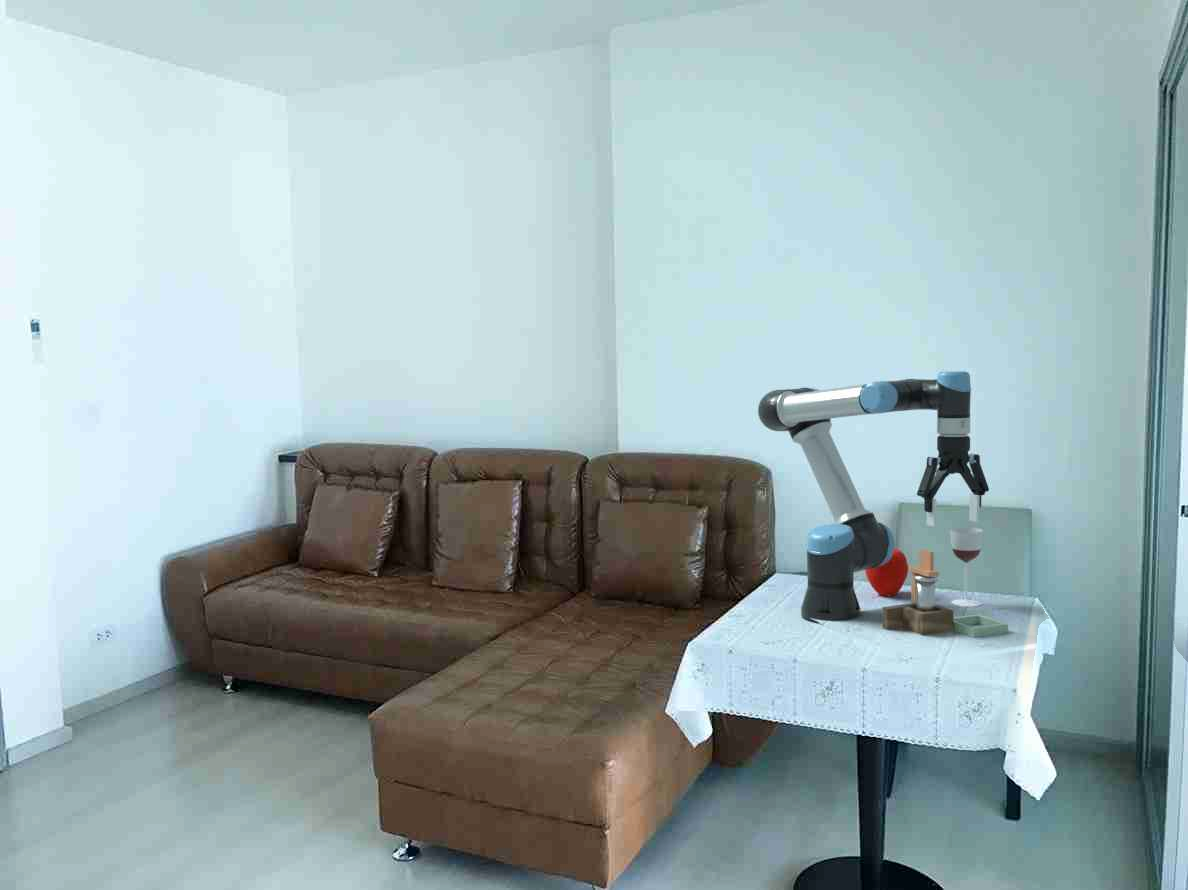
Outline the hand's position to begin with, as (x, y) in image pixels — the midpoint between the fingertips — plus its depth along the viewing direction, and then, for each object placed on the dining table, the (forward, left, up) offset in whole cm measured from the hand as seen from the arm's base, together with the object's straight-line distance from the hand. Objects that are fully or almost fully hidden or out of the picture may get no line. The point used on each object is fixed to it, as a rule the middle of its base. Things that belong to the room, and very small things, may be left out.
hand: (952, 523), depth 238 cm
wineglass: (-18, +20, -26) cm, 38 cm away
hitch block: (0, -10, -26) cm, 28 cm away
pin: (0, -8, -25) cm, 26 cm away
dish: (+6, +2, -26) cm, 27 cm away
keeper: (-1, -8, -20) cm, 21 cm away
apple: (-35, +7, -26) cm, 45 cm away
